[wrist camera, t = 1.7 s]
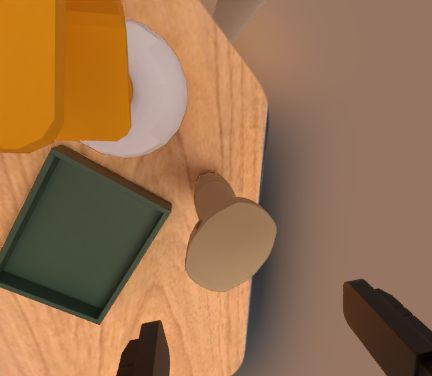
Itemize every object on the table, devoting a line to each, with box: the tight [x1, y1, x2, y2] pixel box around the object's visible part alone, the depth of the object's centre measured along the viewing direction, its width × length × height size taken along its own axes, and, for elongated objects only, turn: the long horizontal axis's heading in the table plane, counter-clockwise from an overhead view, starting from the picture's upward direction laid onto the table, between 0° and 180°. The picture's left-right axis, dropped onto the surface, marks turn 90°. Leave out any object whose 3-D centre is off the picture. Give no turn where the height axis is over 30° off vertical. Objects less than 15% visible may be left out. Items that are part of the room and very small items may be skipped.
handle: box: [185, 171, 277, 292], centre depth 24 cm, size 5×6×15 cm
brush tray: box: [0, 145, 172, 325], centre depth 30 cm, size 17×13×2 cm
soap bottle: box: [0, 0, 187, 158], centre depth 16 cm, size 9×9×25 cm
